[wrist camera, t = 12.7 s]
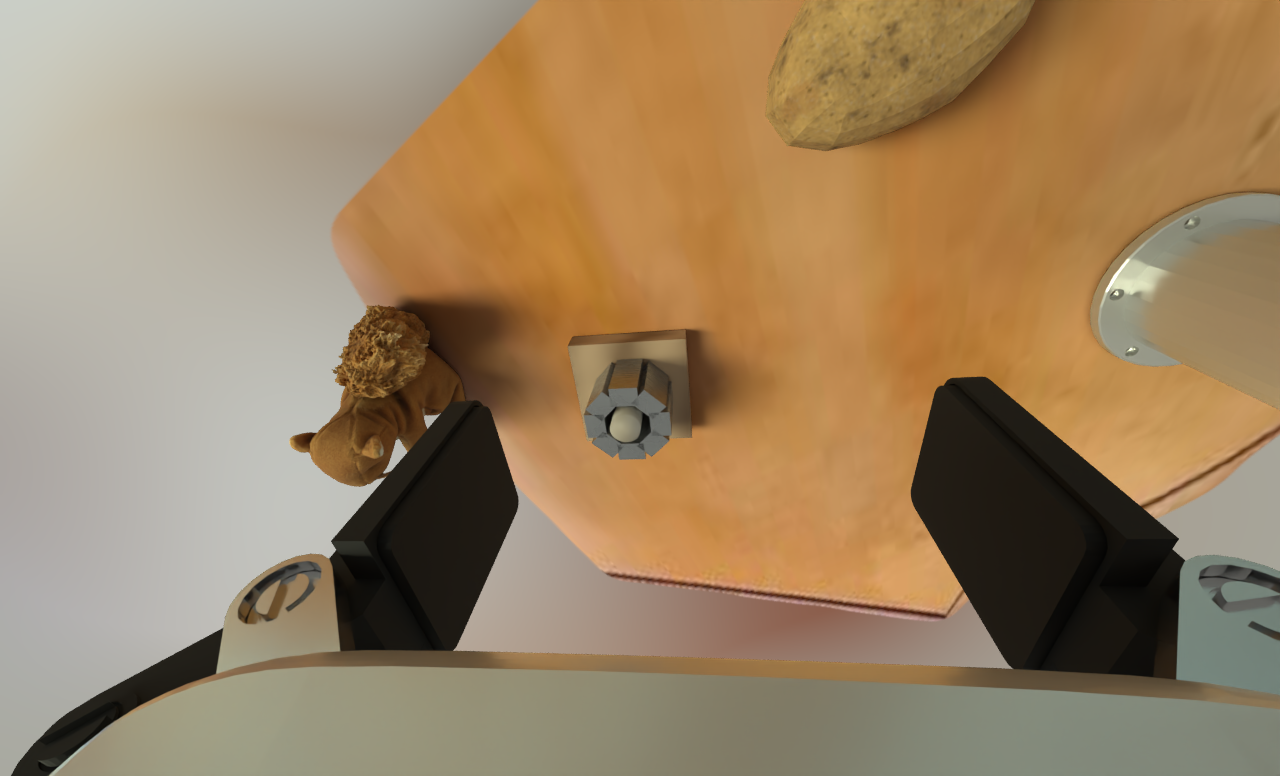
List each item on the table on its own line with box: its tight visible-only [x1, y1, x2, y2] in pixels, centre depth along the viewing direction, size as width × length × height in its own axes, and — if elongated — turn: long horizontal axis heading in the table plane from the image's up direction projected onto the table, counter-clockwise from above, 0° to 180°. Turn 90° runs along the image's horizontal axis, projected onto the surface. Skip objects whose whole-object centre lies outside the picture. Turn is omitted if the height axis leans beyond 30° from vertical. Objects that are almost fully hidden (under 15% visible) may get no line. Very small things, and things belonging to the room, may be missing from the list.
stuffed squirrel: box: [289, 305, 466, 487], centre depth 37 cm, size 10×14×13 cm
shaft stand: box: [568, 329, 692, 442], centre depth 39 cm, size 10×10×8 cm
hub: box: [584, 358, 673, 460], centre depth 38 cm, size 7×7×5 cm
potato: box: [766, 0, 1035, 151], centre depth 25 cm, size 10×14×8 cm
